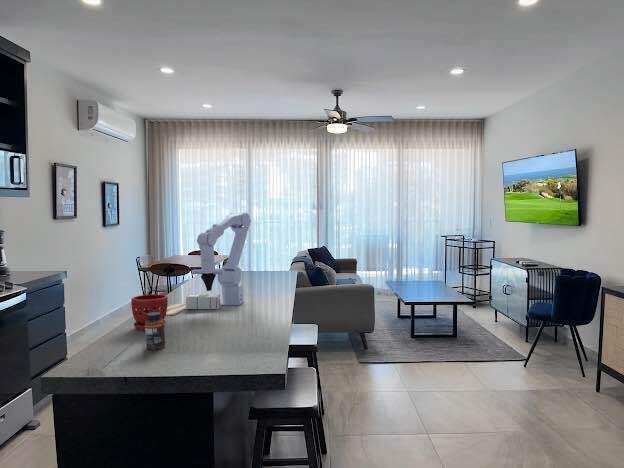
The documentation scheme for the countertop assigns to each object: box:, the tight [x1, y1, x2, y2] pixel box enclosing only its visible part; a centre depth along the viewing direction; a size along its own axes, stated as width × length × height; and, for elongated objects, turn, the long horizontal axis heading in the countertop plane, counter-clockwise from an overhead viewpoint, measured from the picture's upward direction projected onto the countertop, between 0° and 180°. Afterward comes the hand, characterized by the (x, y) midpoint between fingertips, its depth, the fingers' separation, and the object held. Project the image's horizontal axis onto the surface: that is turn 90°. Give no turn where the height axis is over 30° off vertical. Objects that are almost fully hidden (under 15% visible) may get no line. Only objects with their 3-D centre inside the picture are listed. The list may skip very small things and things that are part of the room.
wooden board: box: [165, 303, 188, 317], centre depth 204 cm, size 12×20×1 cm, turn 169°
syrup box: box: [185, 293, 221, 310], centre depth 205 cm, size 6×6×14 cm
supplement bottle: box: [144, 312, 166, 351], centre depth 149 cm, size 6×6×11 cm
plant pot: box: [130, 294, 169, 331], centre depth 175 cm, size 13×13×12 cm
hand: (209, 290), depth 200 cm, fingers closed
